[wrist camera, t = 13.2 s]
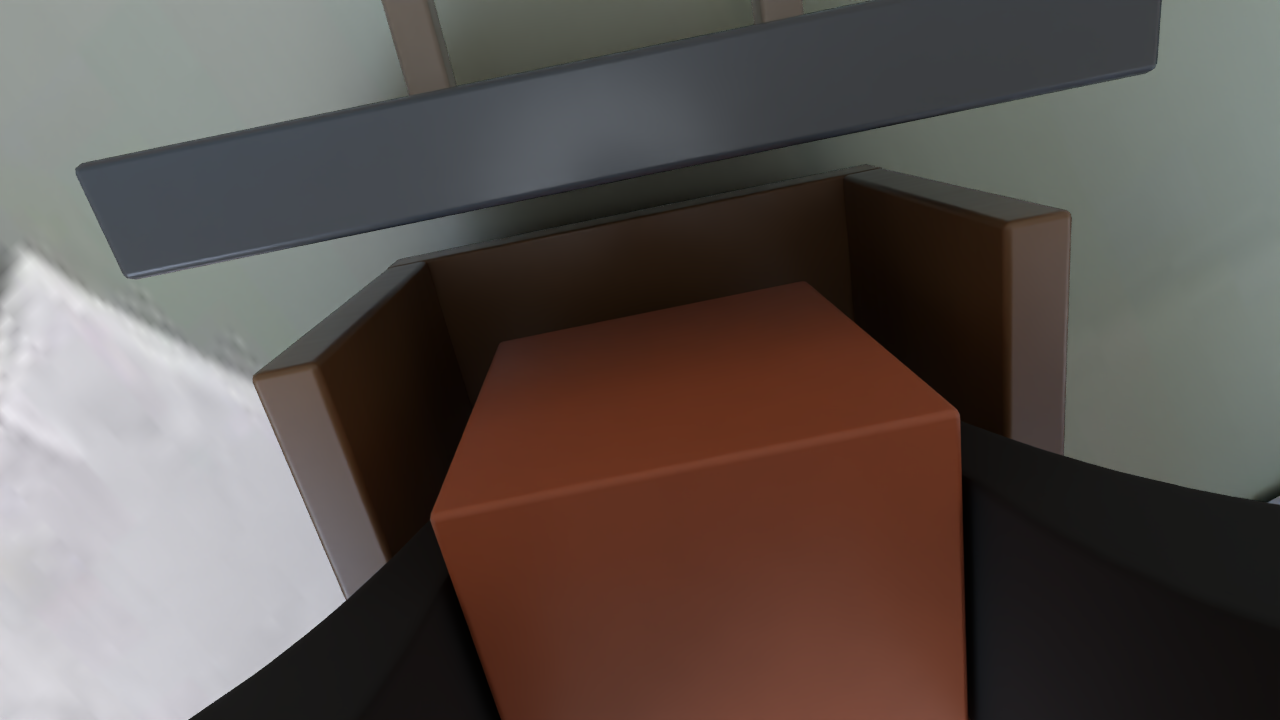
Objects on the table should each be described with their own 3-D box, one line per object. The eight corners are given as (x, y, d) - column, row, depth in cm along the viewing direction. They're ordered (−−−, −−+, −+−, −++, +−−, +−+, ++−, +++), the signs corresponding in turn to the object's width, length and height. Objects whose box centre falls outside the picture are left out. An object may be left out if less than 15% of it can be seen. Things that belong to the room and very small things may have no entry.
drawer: (224, -157, 11) (-242, -484, 5) (871, -293, 11) (1227, -806, 5) (496, 642, 18) (439, 950, 11) (918, 559, 17) (1104, 823, 11)
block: (497, 341, 11) (424, 517, 6) (806, 279, 10) (963, 409, 6) (568, 591, 12) (552, 873, 8) (833, 538, 12) (972, 792, 8)
